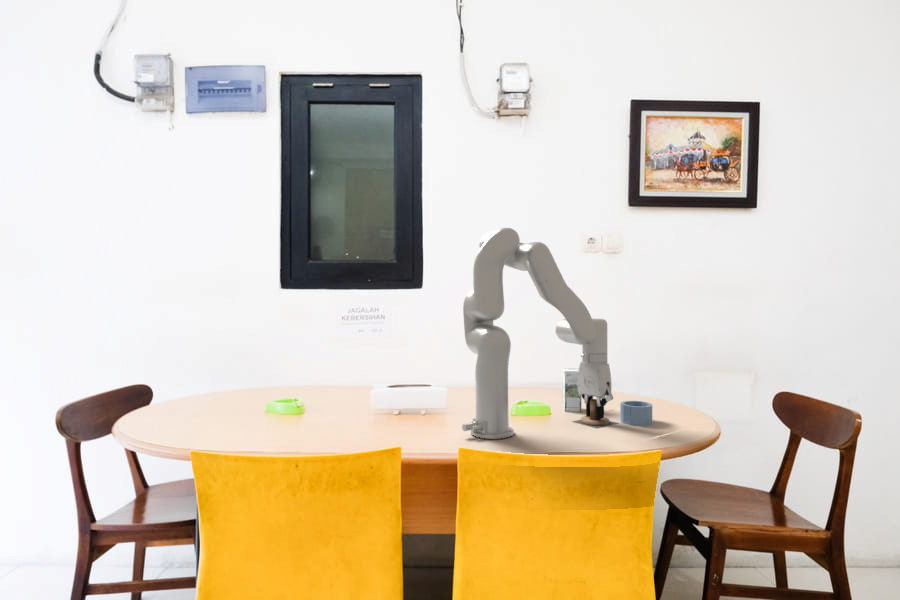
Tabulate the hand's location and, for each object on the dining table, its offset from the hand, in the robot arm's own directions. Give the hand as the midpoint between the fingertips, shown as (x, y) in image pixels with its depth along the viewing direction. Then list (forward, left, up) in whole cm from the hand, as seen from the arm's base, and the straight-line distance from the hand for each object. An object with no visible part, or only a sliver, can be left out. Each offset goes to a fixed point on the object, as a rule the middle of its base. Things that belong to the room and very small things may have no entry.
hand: (595, 416), depth 165 cm
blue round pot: (+11, -7, -2) cm, 13 cm away
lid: (0, 0, -2) cm, 2 cm away
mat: (0, 0, -2) cm, 2 cm away
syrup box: (+7, +16, -2) cm, 18 cm away
